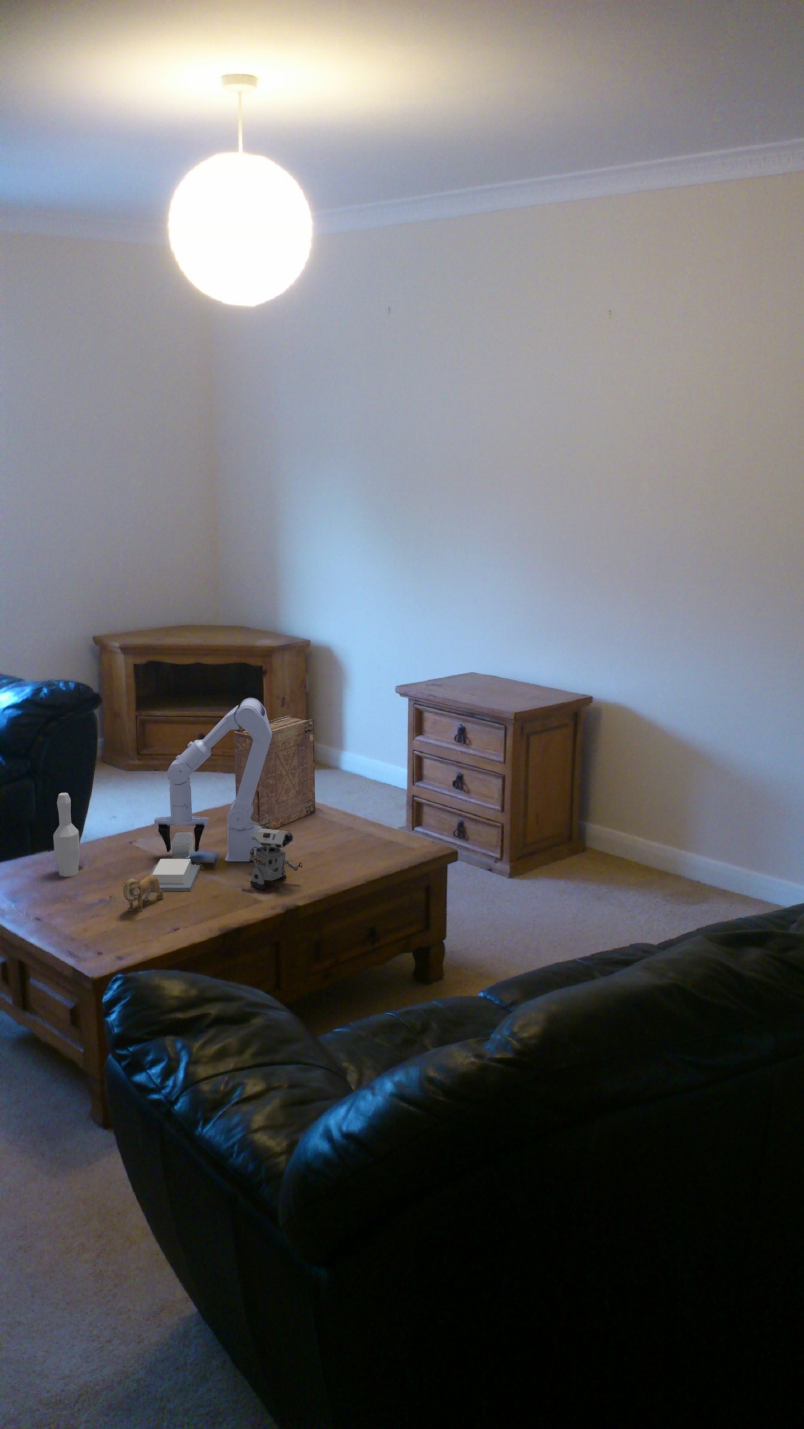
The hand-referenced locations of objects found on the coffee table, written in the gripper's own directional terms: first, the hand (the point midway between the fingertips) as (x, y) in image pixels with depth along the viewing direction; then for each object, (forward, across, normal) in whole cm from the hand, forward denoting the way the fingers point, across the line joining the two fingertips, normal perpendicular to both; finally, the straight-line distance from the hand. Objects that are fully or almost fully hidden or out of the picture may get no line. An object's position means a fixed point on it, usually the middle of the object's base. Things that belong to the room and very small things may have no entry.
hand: (182, 850), depth 301 cm
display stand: (+2, 0, +16) cm, 16 cm away
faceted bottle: (+2, +28, +12) cm, 31 cm away
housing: (+2, 0, 0) cm, 2 cm away
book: (+2, -23, -30) cm, 38 cm away
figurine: (+2, -27, +20) cm, 34 cm away
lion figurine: (+2, +4, +33) cm, 34 cm away
